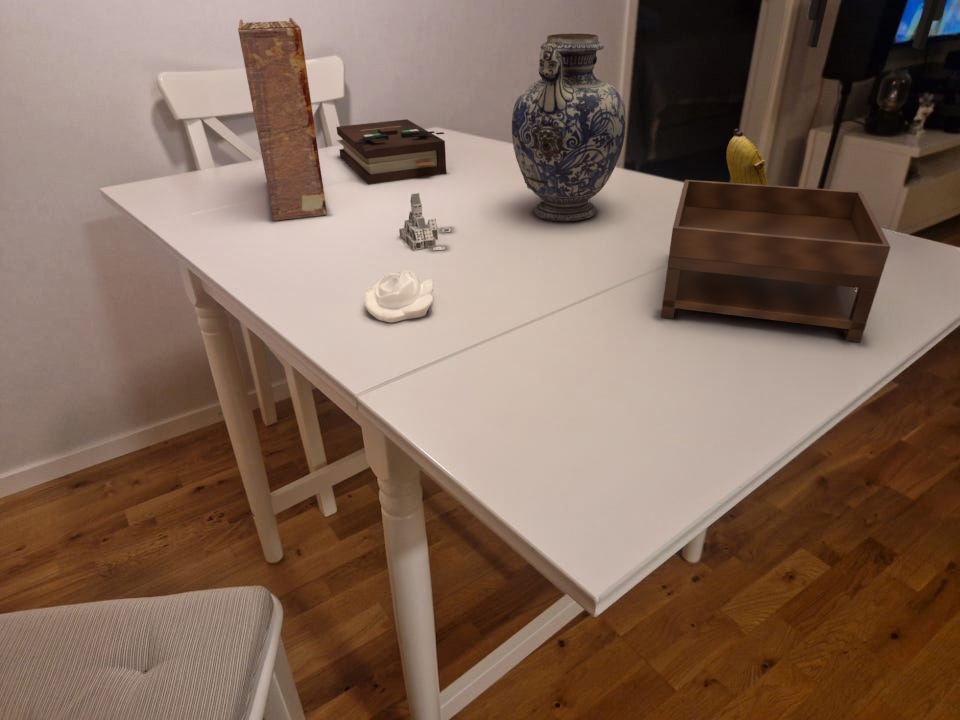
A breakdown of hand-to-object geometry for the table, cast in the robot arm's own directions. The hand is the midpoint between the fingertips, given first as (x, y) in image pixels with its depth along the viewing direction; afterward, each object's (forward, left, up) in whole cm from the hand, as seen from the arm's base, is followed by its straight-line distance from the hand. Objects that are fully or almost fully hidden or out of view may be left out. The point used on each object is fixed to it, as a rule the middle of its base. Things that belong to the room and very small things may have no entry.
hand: (863, 47), depth 92 cm
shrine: (+10, +1, -27) cm, 28 cm away
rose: (+53, +45, -27) cm, 74 cm away
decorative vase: (+41, +3, -27) cm, 49 cm away
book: (+92, +8, -27) cm, 96 cm away
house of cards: (+58, +22, -27) cm, 67 cm away
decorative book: (+85, -19, -27) cm, 91 cm away
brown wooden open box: (+10, +29, -27) cm, 40 cm away
